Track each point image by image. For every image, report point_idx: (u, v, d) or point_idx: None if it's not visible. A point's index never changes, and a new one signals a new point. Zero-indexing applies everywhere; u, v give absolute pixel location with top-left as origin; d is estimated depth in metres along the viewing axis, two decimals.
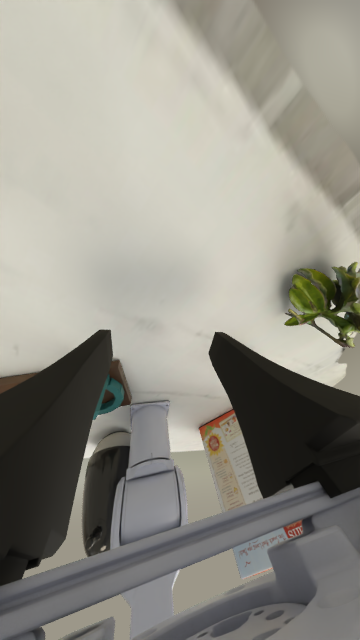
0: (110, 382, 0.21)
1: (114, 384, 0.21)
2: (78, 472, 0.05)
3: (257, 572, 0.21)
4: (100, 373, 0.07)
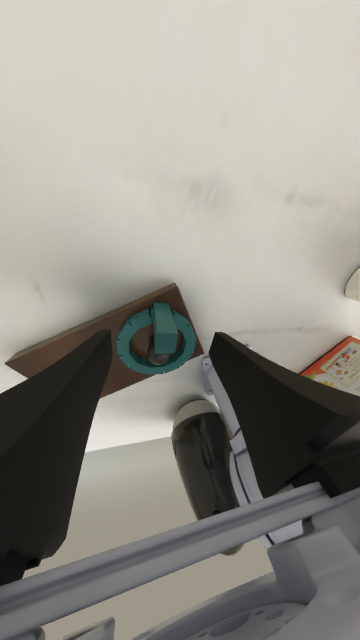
0: (173, 313, 0.14)
1: (179, 316, 0.14)
2: (78, 472, 0.05)
3: None
4: (100, 373, 0.07)
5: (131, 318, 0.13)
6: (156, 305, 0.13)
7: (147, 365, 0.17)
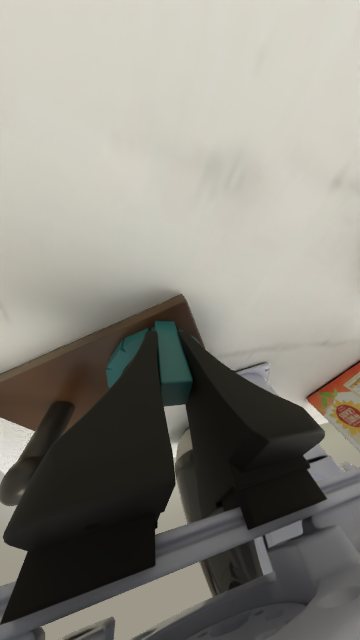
0: None
1: None
2: None
3: None
4: None
5: (125, 342, 0.10)
6: (158, 325, 0.10)
7: None
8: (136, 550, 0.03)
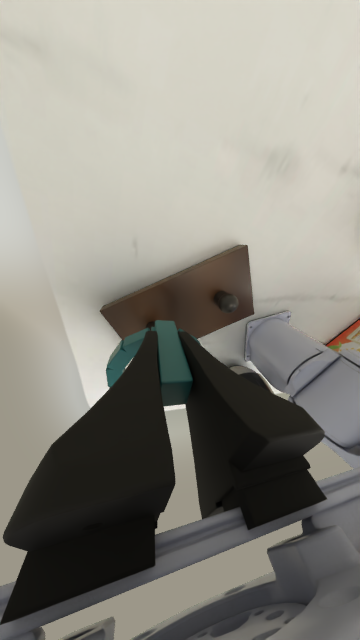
0: None
1: None
2: None
3: None
4: None
5: (125, 342, 0.10)
6: (158, 325, 0.10)
7: None
8: (136, 550, 0.03)
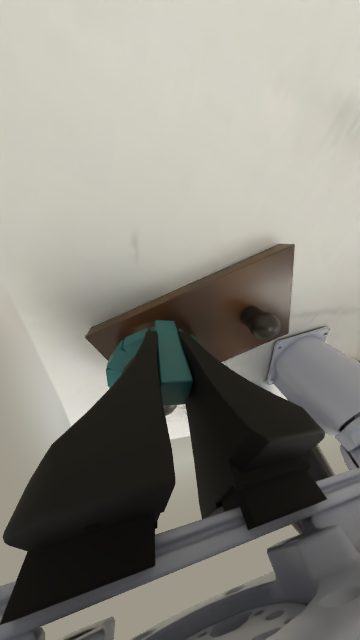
0: None
1: None
2: None
3: None
4: None
5: (125, 342, 0.10)
6: (158, 325, 0.10)
7: None
8: (136, 550, 0.03)
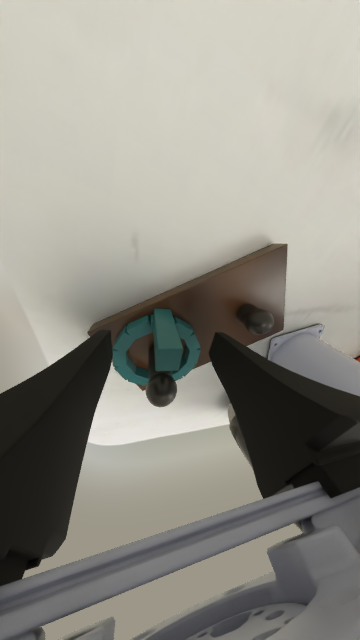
0: (176, 320, 0.12)
1: (182, 323, 0.13)
2: (78, 472, 0.05)
3: None
4: (100, 373, 0.07)
5: (128, 326, 0.12)
6: (157, 312, 0.12)
7: (146, 376, 0.15)
8: None
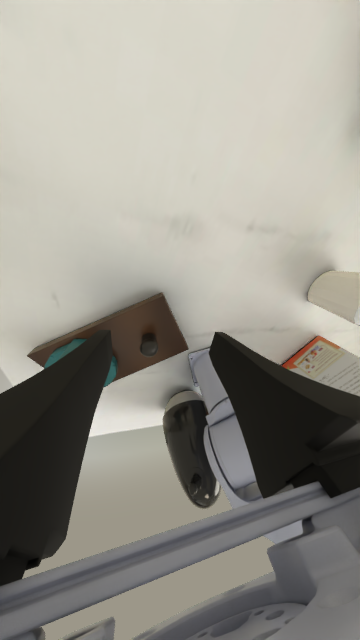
0: None
1: None
2: (78, 472, 0.05)
3: None
4: (100, 373, 0.07)
5: (54, 352, 0.17)
6: (72, 342, 0.17)
7: None
8: None
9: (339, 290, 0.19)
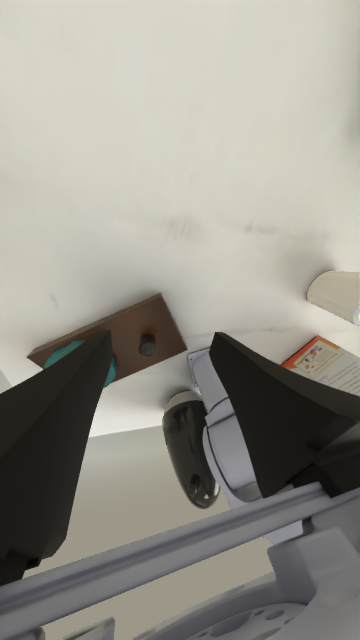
0: None
1: None
2: (78, 472, 0.05)
3: None
4: (100, 373, 0.07)
5: (53, 353, 0.17)
6: (71, 343, 0.17)
7: None
8: None
9: (338, 290, 0.19)
